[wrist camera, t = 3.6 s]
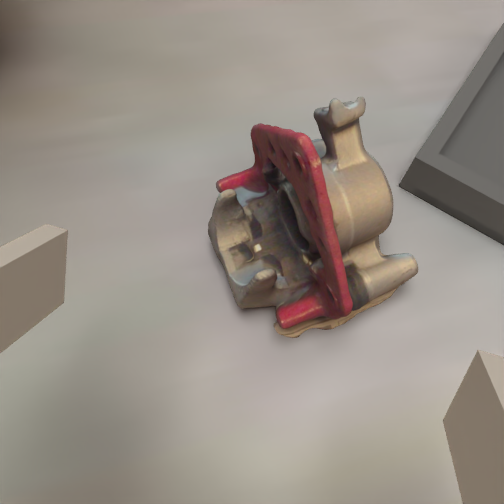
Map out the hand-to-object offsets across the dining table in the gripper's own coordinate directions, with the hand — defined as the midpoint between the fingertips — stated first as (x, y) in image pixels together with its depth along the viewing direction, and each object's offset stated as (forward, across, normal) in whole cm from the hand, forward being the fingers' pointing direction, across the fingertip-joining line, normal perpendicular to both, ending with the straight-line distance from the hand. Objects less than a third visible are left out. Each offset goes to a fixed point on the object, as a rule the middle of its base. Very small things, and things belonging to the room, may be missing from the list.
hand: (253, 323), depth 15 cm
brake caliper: (+14, 0, -3) cm, 15 cm away
